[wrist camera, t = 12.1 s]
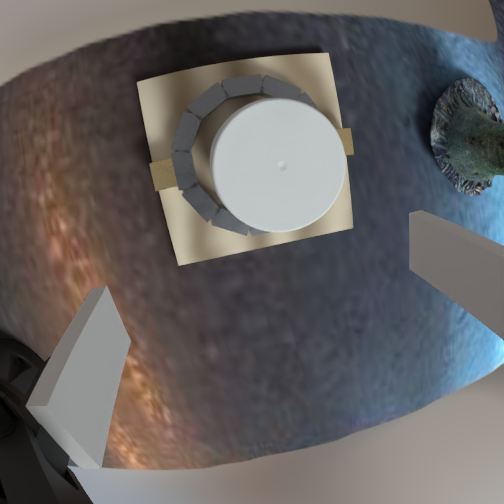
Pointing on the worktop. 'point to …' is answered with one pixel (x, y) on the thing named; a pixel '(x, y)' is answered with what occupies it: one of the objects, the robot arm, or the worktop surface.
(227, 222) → the ring
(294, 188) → the supplement tub
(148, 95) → the base plate
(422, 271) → the robot arm
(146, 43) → the worktop surface
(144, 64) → the worktop surface
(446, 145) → the tree stump
